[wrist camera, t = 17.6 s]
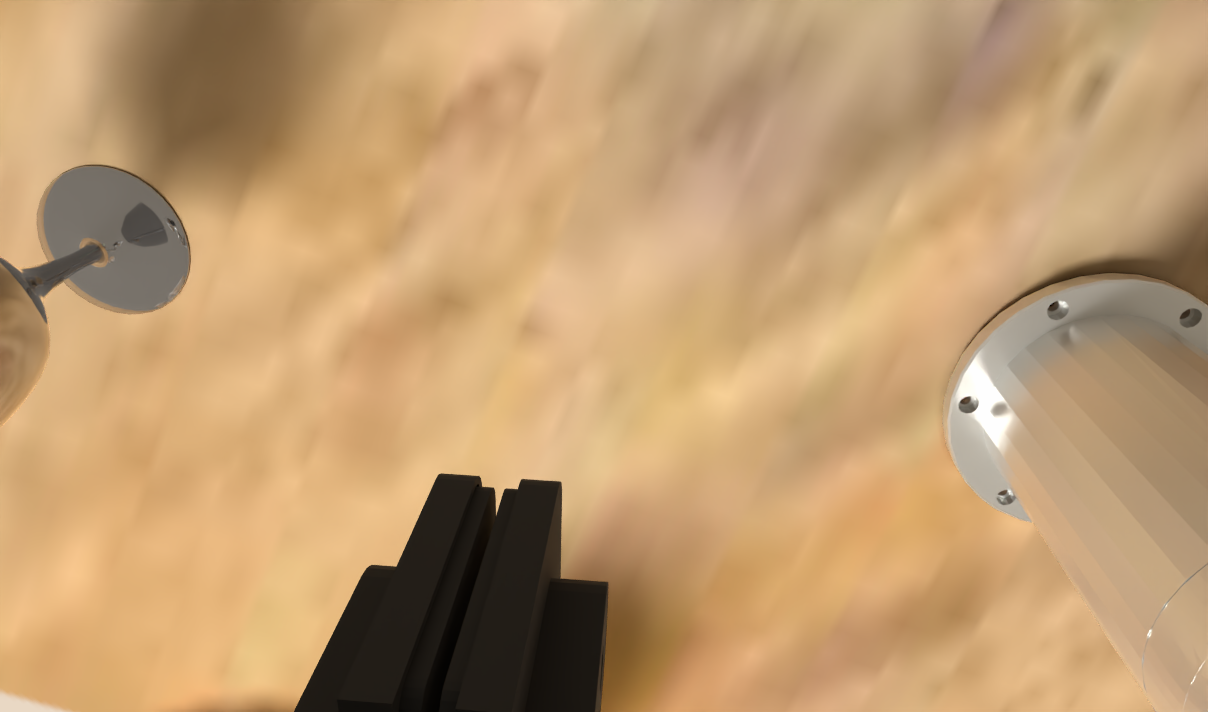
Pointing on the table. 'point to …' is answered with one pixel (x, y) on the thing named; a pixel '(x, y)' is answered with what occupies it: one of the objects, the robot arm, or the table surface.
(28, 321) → the wine glass
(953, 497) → the table surface
